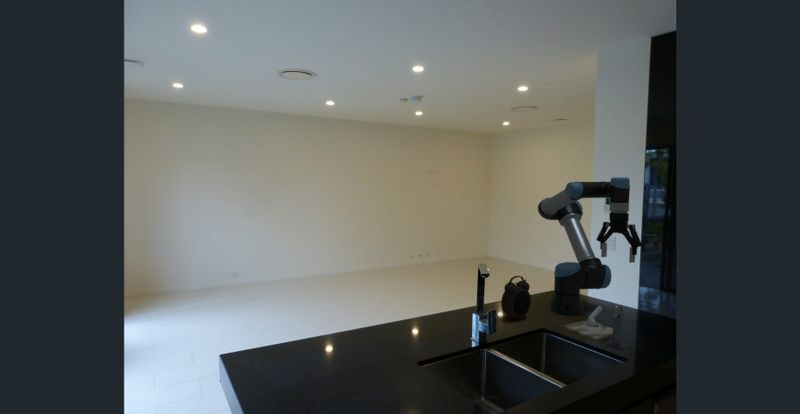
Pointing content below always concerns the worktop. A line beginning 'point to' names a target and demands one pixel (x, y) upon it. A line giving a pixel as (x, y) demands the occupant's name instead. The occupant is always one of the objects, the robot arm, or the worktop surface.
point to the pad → (595, 336)
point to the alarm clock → (516, 298)
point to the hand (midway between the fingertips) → (617, 259)
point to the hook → (593, 321)
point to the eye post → (617, 328)
